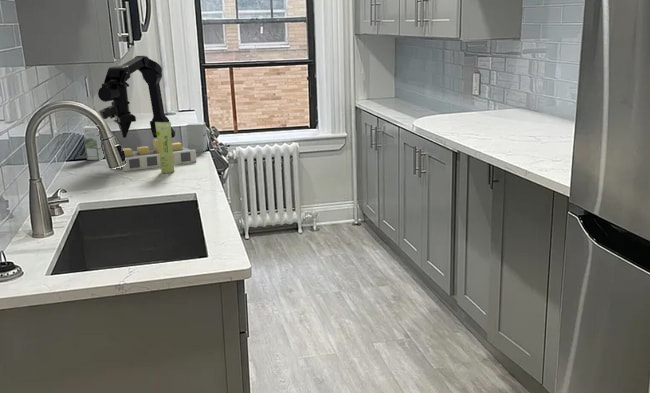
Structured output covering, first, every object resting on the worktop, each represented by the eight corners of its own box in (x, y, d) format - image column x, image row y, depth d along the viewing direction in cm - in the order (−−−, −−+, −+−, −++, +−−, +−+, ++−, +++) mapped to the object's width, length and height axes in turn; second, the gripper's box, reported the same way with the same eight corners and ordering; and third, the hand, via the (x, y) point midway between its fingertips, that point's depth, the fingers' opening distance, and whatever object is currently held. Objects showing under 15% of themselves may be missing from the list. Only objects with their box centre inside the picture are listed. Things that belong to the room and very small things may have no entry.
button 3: (138, 162, 257) (136, 147, 255) (147, 160, 259) (146, 146, 257) (141, 163, 253) (139, 148, 252) (150, 162, 255) (149, 147, 254)
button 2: (154, 154, 259) (153, 139, 258) (163, 153, 261) (162, 138, 260) (157, 155, 256) (155, 140, 254) (166, 154, 258) (165, 139, 256)
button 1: (171, 158, 264) (169, 143, 262) (180, 156, 266) (178, 142, 264) (174, 159, 260) (172, 144, 259) (183, 158, 262) (181, 143, 261)
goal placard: (122, 170, 242) (121, 158, 240) (195, 161, 257) (194, 149, 255) (123, 171, 241) (122, 158, 239) (196, 161, 256) (195, 149, 254)
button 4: (121, 164, 253) (119, 149, 251) (131, 163, 255) (129, 147, 253) (123, 166, 250) (122, 150, 248) (133, 164, 252) (132, 149, 250)
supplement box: (204, 152, 275) (202, 124, 272) (188, 152, 275) (185, 124, 272) (207, 149, 282) (205, 121, 279) (191, 149, 282) (189, 122, 279)
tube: (160, 173, 235) (155, 123, 230) (159, 171, 240) (154, 121, 234) (175, 172, 237) (170, 122, 231) (174, 169, 241) (169, 120, 236)
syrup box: (105, 157, 267) (101, 124, 263) (99, 160, 262) (95, 127, 258) (92, 157, 268) (88, 124, 264) (86, 160, 262) (82, 127, 258)
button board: (112, 163, 256) (111, 153, 255) (181, 154, 271) (181, 145, 270) (120, 169, 244) (119, 159, 243) (192, 159, 259) (192, 150, 258)
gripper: (94, 98, 249) (98, 136, 253) (104, 102, 233) (109, 142, 237) (122, 96, 254) (126, 133, 258) (134, 100, 239) (138, 139, 243)
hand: (124, 137), depth 249 cm, fingers closed
